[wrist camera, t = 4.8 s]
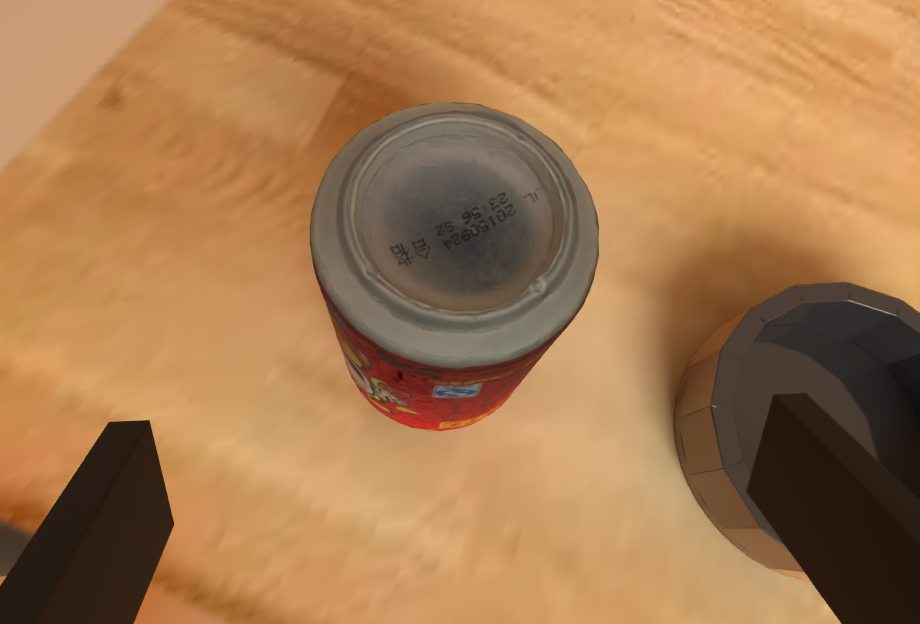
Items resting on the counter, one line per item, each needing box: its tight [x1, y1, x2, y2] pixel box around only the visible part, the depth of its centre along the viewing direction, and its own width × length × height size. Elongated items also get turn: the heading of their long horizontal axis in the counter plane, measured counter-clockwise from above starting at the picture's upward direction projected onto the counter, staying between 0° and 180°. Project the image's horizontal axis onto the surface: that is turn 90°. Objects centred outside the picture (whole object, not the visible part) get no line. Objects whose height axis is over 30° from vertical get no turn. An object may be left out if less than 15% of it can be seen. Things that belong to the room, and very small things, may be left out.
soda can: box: [310, 102, 599, 431], centre depth 20 cm, size 7×7×12 cm
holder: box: [675, 282, 920, 582], centre depth 24 cm, size 11×11×4 cm
